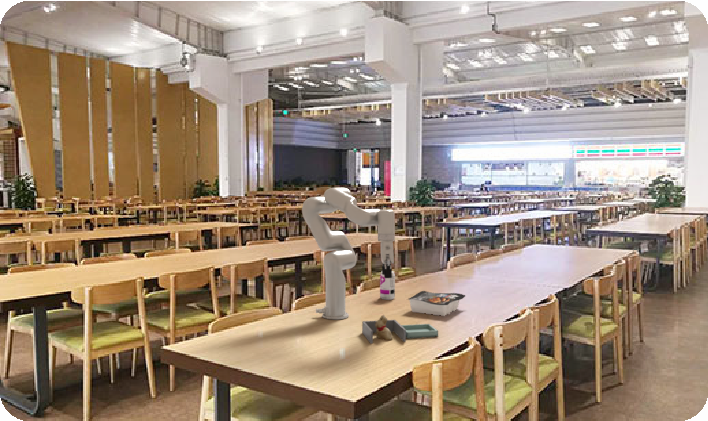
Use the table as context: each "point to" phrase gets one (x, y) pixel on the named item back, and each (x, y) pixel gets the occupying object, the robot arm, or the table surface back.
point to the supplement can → (387, 287)
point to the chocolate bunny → (383, 329)
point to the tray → (420, 331)
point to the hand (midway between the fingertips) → (386, 276)
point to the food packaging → (435, 302)
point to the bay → (392, 325)
